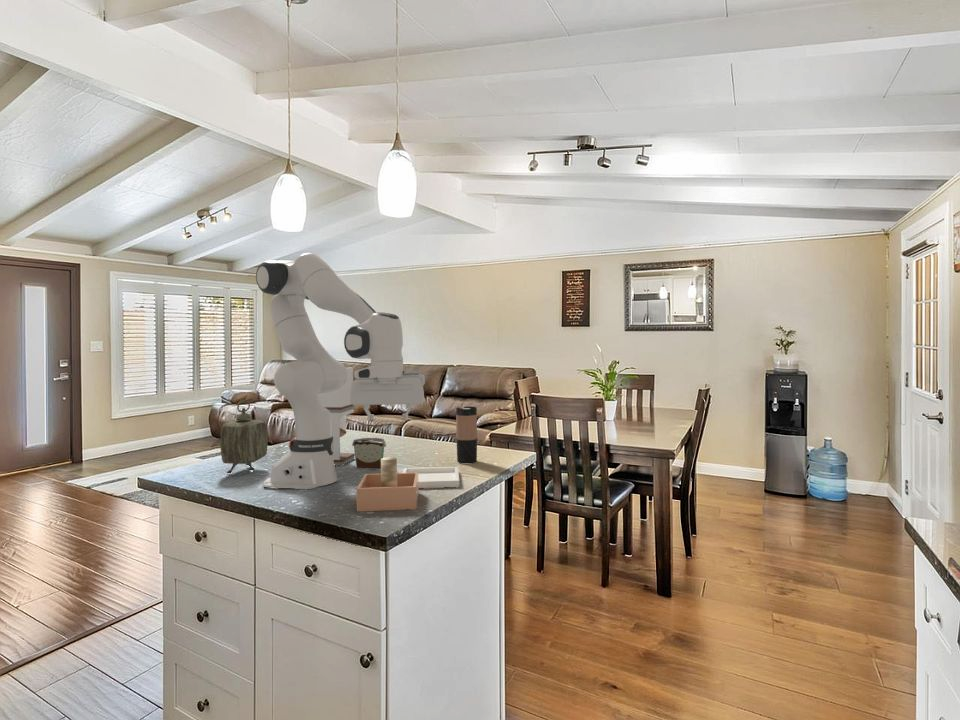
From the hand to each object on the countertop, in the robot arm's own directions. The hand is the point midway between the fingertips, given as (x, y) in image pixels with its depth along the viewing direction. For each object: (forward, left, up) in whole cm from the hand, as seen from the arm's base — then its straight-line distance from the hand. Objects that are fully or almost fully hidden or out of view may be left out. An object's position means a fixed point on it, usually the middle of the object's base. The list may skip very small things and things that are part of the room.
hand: (388, 420), depth 149 cm
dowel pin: (0, 0, -23) cm, 23 cm away
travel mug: (+24, +46, -23) cm, 57 cm away
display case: (-25, +52, -23) cm, 62 cm away
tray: (+11, +21, -23) cm, 33 cm away
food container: (-10, +42, -23) cm, 49 cm away
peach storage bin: (0, 0, -23) cm, 23 cm away
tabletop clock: (-53, +40, -23) cm, 70 cm away
